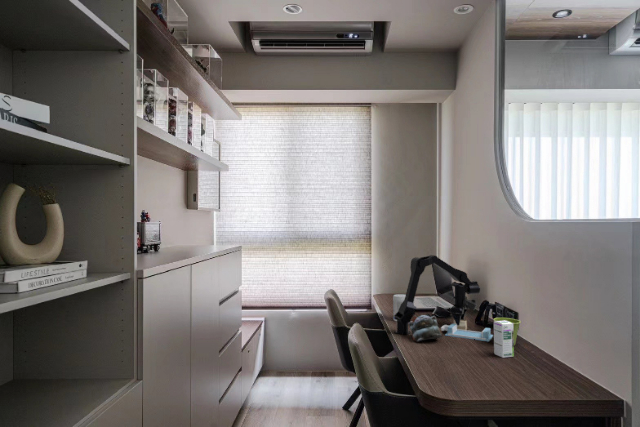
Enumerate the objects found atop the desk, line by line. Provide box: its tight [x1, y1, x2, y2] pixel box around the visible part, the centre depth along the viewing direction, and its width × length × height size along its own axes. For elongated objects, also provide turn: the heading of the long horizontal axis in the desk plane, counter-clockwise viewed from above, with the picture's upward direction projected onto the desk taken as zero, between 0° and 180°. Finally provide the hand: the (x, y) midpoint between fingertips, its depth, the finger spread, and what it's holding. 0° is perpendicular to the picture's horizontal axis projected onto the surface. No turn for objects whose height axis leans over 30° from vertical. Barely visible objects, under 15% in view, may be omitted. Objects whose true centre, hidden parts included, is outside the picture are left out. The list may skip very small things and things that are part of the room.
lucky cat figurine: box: [408, 313, 443, 343], centre depth 206 cm, size 15×12×14 cm
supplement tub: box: [392, 293, 406, 323], centre depth 246 cm, size 10×10×15 cm
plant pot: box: [493, 317, 522, 346], centre depth 199 cm, size 12×12×11 cm
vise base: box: [444, 327, 494, 342], centre depth 213 cm, size 12×21×4 cm, turn 59°
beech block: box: [453, 319, 468, 330], centre depth 225 cm, size 4×6×5 cm, turn 59°
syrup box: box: [493, 320, 515, 359], centre depth 182 cm, size 6×6×14 cm
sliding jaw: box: [440, 323, 457, 334], centre depth 219 cm, size 9×6×4 cm
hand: (460, 323), depth 225 cm, fingers open, 9 cm apart
